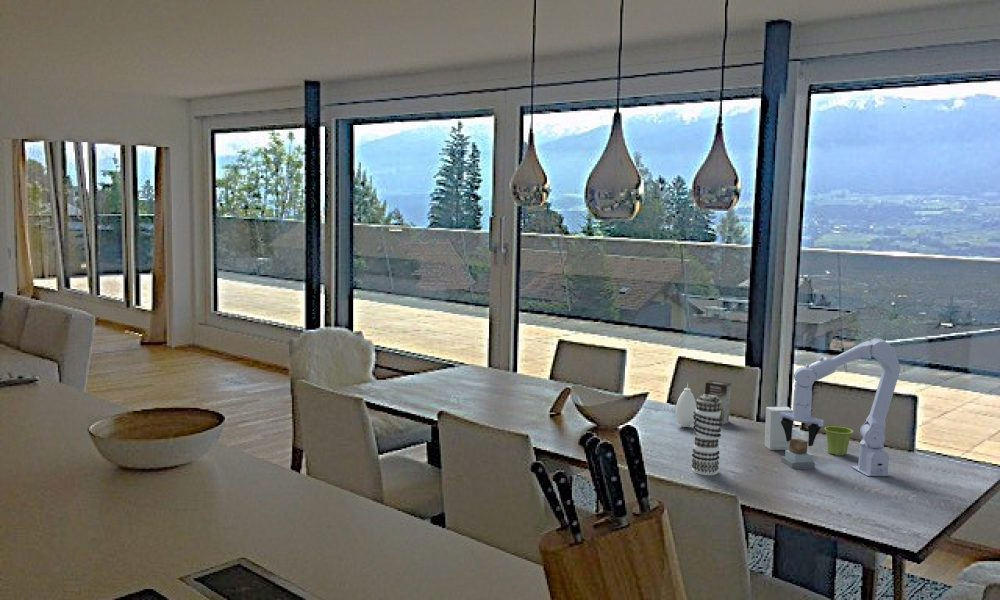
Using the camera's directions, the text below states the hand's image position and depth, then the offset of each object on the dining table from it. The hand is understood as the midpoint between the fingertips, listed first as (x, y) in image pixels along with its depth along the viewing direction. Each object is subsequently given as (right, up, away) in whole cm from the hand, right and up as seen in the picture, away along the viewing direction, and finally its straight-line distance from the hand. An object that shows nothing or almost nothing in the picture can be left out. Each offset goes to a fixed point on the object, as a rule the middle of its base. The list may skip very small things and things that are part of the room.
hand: (799, 443), depth 284 cm
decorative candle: (-34, -8, -9) cm, 36 cm away
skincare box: (-1, -6, +21) cm, 22 cm away
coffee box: (-13, -1, +58) cm, 60 cm away
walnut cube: (0, -3, 0) cm, 3 cm away
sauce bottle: (-28, -2, +47) cm, 55 cm away
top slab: (0, -6, 0) cm, 6 cm away
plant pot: (+19, -7, +16) cm, 26 cm away
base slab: (0, -8, +1) cm, 8 cm away
